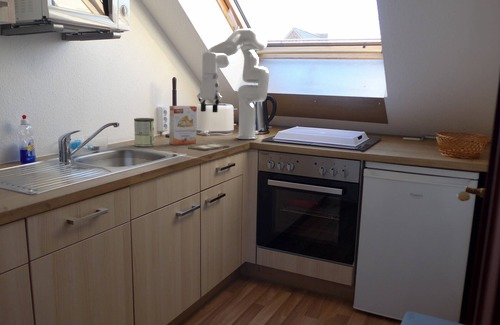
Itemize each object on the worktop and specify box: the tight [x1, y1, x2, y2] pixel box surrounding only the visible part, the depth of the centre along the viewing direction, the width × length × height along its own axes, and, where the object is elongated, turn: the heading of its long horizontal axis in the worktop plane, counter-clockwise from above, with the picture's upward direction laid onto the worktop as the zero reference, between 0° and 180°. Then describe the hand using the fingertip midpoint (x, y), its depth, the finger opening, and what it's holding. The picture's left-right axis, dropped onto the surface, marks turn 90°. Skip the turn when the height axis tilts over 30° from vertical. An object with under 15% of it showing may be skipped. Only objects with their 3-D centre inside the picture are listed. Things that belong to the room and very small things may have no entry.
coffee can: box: [133, 117, 155, 147], centre depth 238 cm, size 10×10×14 cm
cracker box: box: [168, 105, 198, 146], centre depth 246 cm, size 14×6×21 cm, turn 125°
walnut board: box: [187, 143, 230, 152], centre depth 236 cm, size 19×12×1 cm, turn 143°
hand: (209, 111), depth 232 cm, fingers open, 7 cm apart
